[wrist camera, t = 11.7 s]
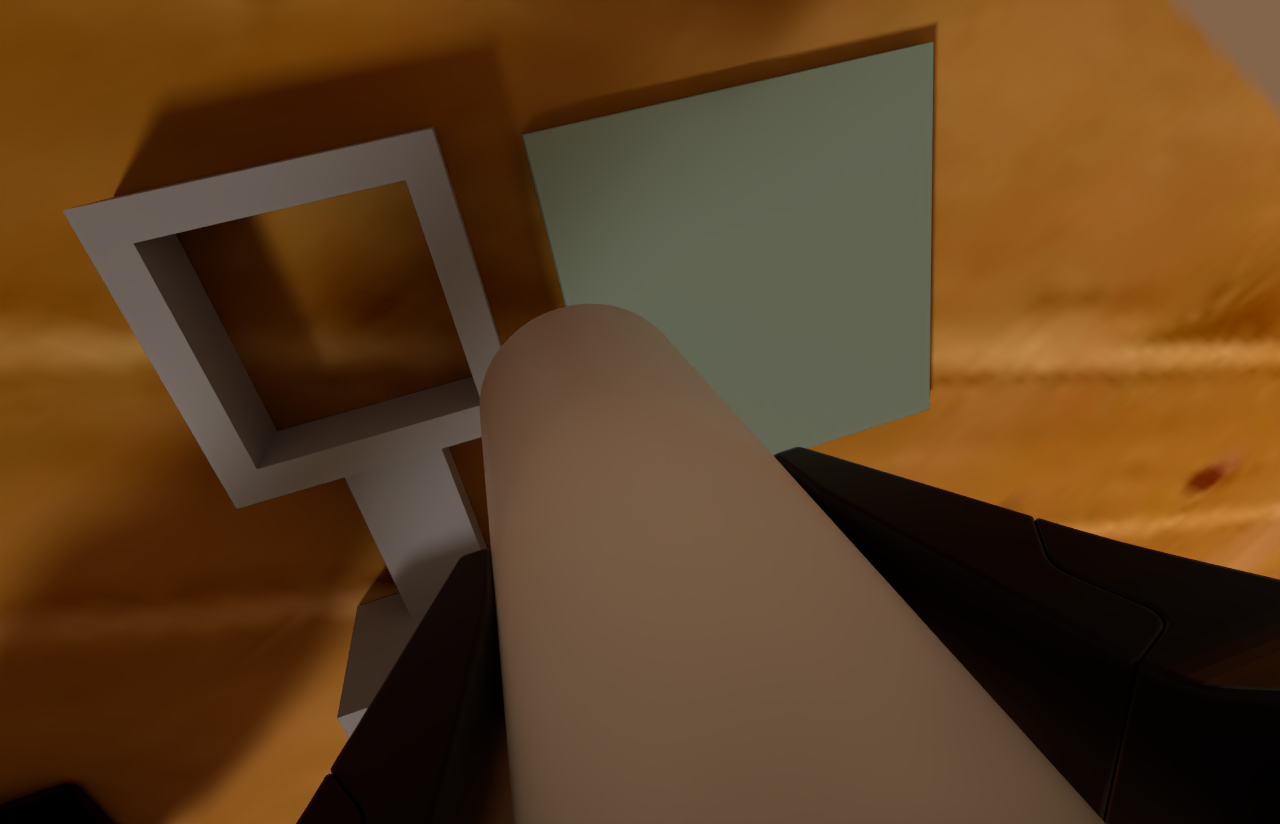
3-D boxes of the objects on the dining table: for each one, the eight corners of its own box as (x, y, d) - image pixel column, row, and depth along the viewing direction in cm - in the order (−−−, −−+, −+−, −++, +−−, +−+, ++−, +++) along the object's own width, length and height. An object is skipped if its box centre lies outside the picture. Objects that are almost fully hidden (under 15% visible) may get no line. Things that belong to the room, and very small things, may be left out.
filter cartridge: (716, 467, 14) (1264, 1232, 5) (505, 536, 13) (629, 1581, 4) (678, 257, 12) (1558, 868, 2) (425, 327, 11) (275, 1507, 2)
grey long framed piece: (602, 667, 28) (631, 771, 24) (405, 737, 27) (398, 860, 23) (433, 126, 18) (429, 131, 14) (111, 197, 17) (-4, 227, 13)
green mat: (919, 403, 27) (929, 409, 26) (614, 500, 25) (618, 508, 24) (921, 43, 21) (933, 41, 20) (521, 134, 19) (523, 135, 18)
